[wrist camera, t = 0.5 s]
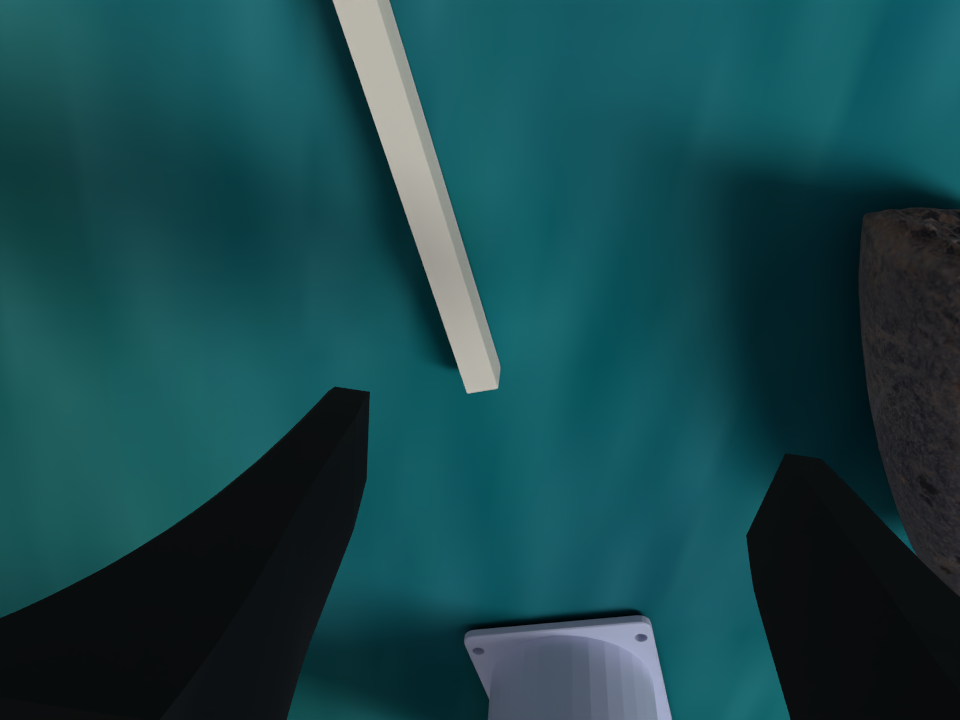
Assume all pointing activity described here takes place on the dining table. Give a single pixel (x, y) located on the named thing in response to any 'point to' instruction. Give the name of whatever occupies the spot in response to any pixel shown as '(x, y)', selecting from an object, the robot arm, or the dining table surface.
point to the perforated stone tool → (916, 371)
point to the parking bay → (420, 184)
